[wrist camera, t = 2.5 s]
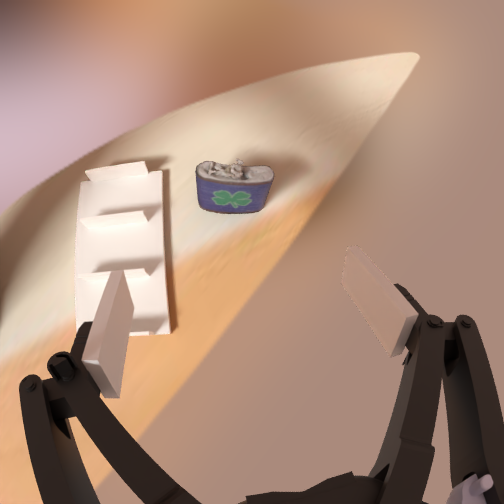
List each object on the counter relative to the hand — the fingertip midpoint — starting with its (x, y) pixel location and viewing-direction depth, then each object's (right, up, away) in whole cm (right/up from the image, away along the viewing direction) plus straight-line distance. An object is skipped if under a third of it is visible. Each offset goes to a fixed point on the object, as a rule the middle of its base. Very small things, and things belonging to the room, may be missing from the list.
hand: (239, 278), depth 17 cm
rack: (-17, +1, +21) cm, 27 cm away
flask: (-2, +8, +25) cm, 26 cm away
